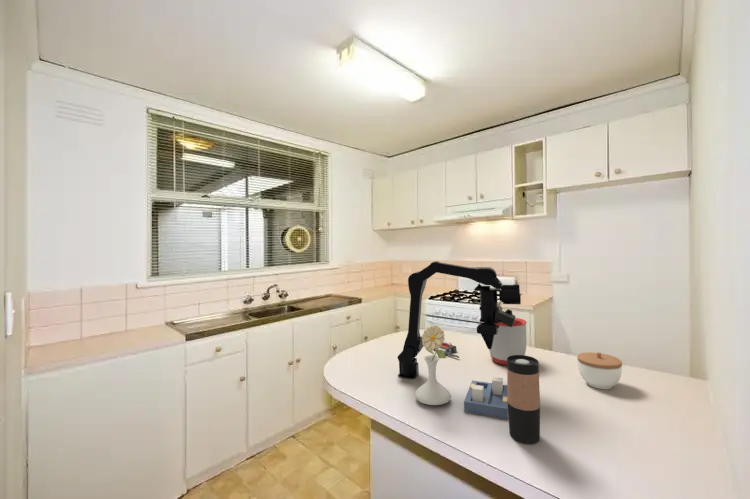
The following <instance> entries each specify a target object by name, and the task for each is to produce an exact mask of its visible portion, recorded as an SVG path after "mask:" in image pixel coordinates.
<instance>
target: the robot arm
mask: <svg viewBox="0 0 750 499" xmlns="http://www.w3.org/2000/svg"><path fill="white" fill-rule="evenodd" d="M436 273H438V274H443V275H449V276H454V277H458V278H459V277H460V278H466V279H469V280H472V281H474V282H476V283H478V284H477V286H476V287H474V292H479V300H480V302H479V303H480V306H479V311H480V318H479V322H480V323H479V324H478V325H477V326H476V334H479V335H481V337H482V339H483V341H484V343H485V345H486V348H487V350H489V349H491V348H492V345H493V339H494V335H497V332H498V330H497V329H498V328H499V325H496V324H495V323H500V322H501V323H503V324H506V325H508V326H509V327H512V326H513V324H514V321H515V319H516V318H517V316H515V314H513V311H512V309H509V308H507V309H506V310H501V309H500V306H499V305H498V299H499V302H501V303H502V304H503V305H521V303H522V302H521V300H522V298H521V291H520V284H518V283H515V284H503V283H502V281H500V279H499V278H498V277H497V276H498V275H497V272H496V270H495V269H494V268H492V267H489V266H485V267H484V266H480V267H479V266H476V267H471V266H463V265H458V264H452V263H446V262H441V261H438V260H435V261H432V262H431V263H430V264H429V265H428V266H426V267H424V268H423V269H422V270H420V271H415V272H413V273H411V274H410V275H409V276H408V279H407V284H408V290H409V295H410V302H409V303H410V304H409V313H408V314H409V315H408V316H409V318H408V330H407V335H406V337H405V340H404V344H403V348H402V350H401V352H400V353H399V354H398V356H397V360H398V363H399V364H398V368H399V370H398V371H399V373H398V375H397V377H399V378H406V379H413V380H414V379H415V378H416V377H417V376H418V374H419V373H420V371H419V362H418V359H417V356H418V355H419V353H421V351H422V349H423V347H424V346H423V345H422V343H423V342H422V335H421V334H420V329H421V327H420V326H421V315H422V314H421V313H422V304H423V302H422V301H423V300H422V299H423V294H424V291H425V288H426V285H427V281H428V279H430V277H431V278H432V277H433V276H434V275H435V274H436ZM491 287H492V288H491ZM498 292H499V293H498ZM498 297H499V298H498ZM424 348H425V347H424Z"/></svg>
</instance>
